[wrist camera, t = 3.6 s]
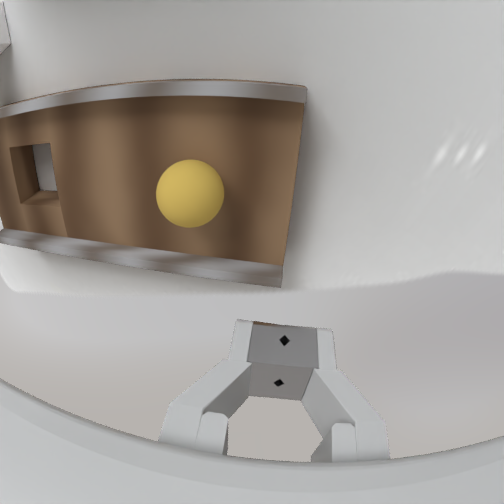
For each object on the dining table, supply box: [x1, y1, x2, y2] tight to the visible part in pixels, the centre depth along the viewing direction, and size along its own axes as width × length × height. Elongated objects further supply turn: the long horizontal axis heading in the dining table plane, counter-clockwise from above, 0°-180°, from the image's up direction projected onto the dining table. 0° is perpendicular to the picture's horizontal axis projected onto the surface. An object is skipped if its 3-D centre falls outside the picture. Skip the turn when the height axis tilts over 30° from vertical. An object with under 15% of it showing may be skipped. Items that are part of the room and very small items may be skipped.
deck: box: [0, 79, 307, 288], centre depth 20 cm, size 28×13×4 cm, turn 86°
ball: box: [156, 160, 224, 228], centre depth 18 cm, size 4×4×4 cm
